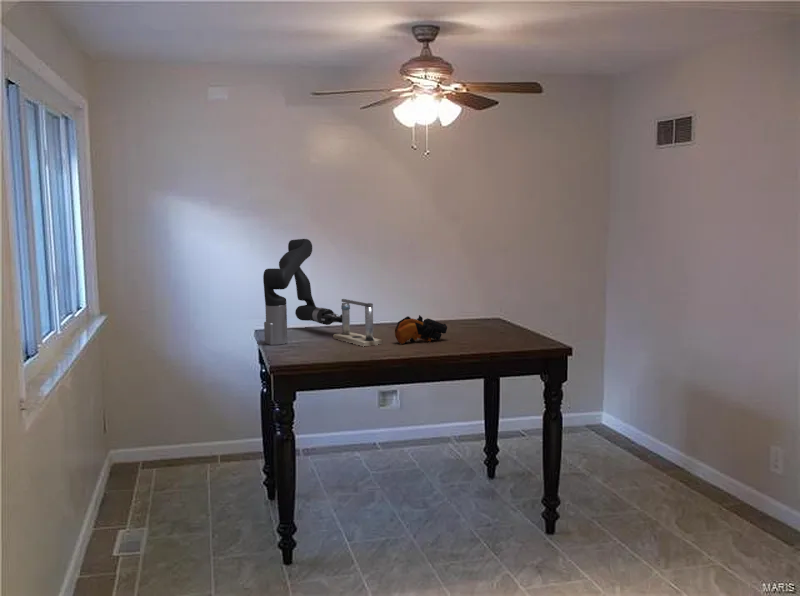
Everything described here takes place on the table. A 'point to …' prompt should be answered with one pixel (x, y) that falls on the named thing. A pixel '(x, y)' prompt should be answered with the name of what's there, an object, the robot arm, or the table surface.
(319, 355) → the table surface
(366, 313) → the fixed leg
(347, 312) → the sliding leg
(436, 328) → the tool
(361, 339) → the hole board
